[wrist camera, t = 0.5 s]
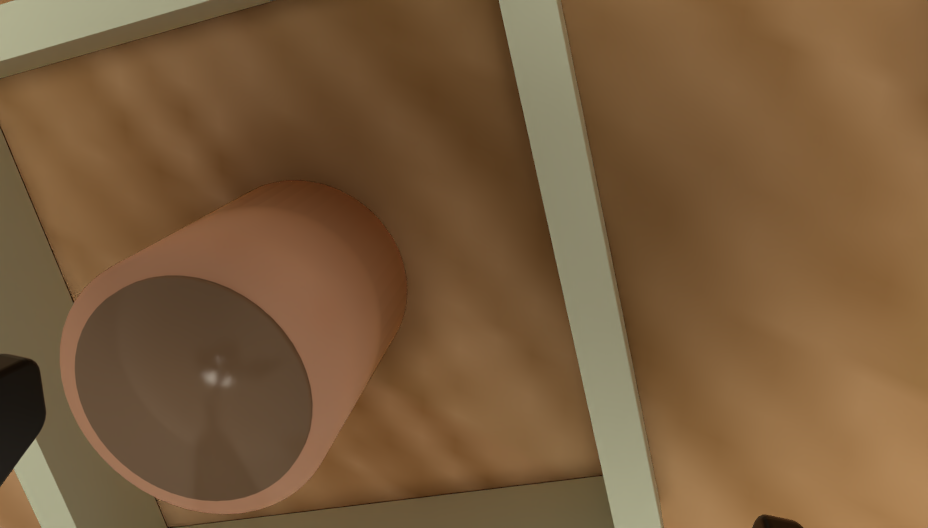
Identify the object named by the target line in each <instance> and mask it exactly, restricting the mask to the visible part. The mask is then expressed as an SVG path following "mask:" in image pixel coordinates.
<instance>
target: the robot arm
mask: <svg viewBox="0 0 928 528" xmlns="http://www.w3.org/2000/svg"><path fill="white" fill-rule="evenodd" d="M45 419H46V406H45V399H44V393H43V386H42V379H41V373H40V368H39V366H38V364H37V363H36V362H35V361H34V360H32V359H30V358H26V357H21V356H16V355H12V354H0V486H1V485H2V484H3V482H4V481H5V479H6V478H7V477H8V475H9V474H10V473H11V471H12V470H13V468H14V467H15V466H16V464H17V463H18V462H19V460H20V459H21V458H22V456H23V455H24V453H25V452H26V451H27V449H28V448H29V447H30V445H31V444H32V442H33V441H34V440H35V438H36V437H37V436H38V434H39V433H40V431H41V429H42V427H43V425H44V422H45ZM752 528H803V527H802V526H801V525H800V524H799V523H797V522H796V521H793V520H789V519H784V518H780V517H775V516H770V515H761V516H759V517H758V518H757V519H756V521H755V522H754V525H753V527H752Z"/></svg>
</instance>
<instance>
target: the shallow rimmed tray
mask: <svg viewBox="0 0 928 528" xmlns="http://www.w3.org/2000/svg"><path fill="white" fill-rule="evenodd" d="M271 1H274V0H14V1H11V2H8V3H4V4H1V5H0V78H4V77H7V76H11V75H14V74H18V73H21V72H25V71H28V70H32V69H35V68H39V67H43V66H46V65H50V64H53V63H57V62H60V61H64V60H67V59H71V58H74V57H78V56H81V55H85V54H88V53H92V52H95V51H99V50H102V49H106V48H109V47H113V46H116V45H120V44H123V43H127V42H130V41H134V40H137V39H141V38H144V37H148V36H151V35H155V34H158V33H162V32H165V31H169V30H172V29H176V28H179V27H183V26H187V25H190V24H194V23H197V22H201V21H204V20H208V19H211V18H215V17H218V16H222V15H225V14H229V13H232V12H236V11H239V10H243V9H246V8H250V7H253V6H257V5H260V4H264V3H267V2H271ZM499 4H500V9H501V13H502V18H503V22H504V27H505V31H506V36H507V40H508V45H509V50H510V54H511V59H512V63H513V68H514V72H515V77H516V81H517V86H518V90H519V95H520V100H521V104H522V109H523V113H524V118H525V122H526V127H527V131H528V136H529V141H530V145H531V150H532V154H533V159H534V163H535V168H536V172H537V177H538V181H539V186H540V191H541V195H542V200H543V204H544V209H545V213H546V218H547V222H548V227H549V232H550V236H551V241H552V245H553V250H554V254H555V259H556V263H557V268H558V272H559V277H560V282H561V286H562V291H563V295H564V300H565V304H566V309H567V313H568V318H569V323H570V327H571V332H572V336H573V341H574V345H575V350H576V354H577V359H578V363H579V368H580V373H581V377H582V382H583V386H584V391H585V395H586V400H587V404H588V409H589V413H590V418H591V423H592V427H593V432H594V436H595V441H596V445H597V450H598V454H599V459H600V464H601V468H602V473H603V476H597V477H589V478H580V479H572V480H564V481H556V482H547V483H539V484H531V485H522V486H514V487H506V488H498V489H489V490H481V491H473V492H465V493H456V494H448V495H440V496H432V497H423V498H415V499H407V500H399V501H390V502H382V503H374V504H365V505H357V506H349V507H341V508H332V509H324V510H316V511H308V512H299V513H291V514H283V515H275V516H266V517H258V518H250V519H241V520H233V521H225V522H217V523H208V524H200V525H192V526H184V527H175V528H664V526H663V519H662V512H661V506H660V500H659V495H658V490H657V485H656V480H655V475H654V470H653V465H652V460H651V454H650V449H649V444H648V439H647V434H646V429H645V424H644V419H643V414H642V409H641V404H640V399H639V394H638V389H637V384H636V378H635V373H634V368H633V363H632V358H631V353H630V348H629V343H628V338H627V333H626V328H625V323H624V318H623V313H622V308H621V303H620V297H619V292H618V287H617V282H616V277H615V272H614V267H613V262H612V257H611V252H610V247H609V242H608V237H607V232H606V227H605V222H604V216H603V211H602V206H601V201H600V196H599V191H598V186H597V181H596V176H595V171H594V166H593V161H592V156H591V151H590V146H589V141H588V135H587V130H586V125H585V120H584V115H583V110H582V105H581V100H580V95H579V90H578V85H577V80H576V75H575V70H574V65H573V60H572V54H571V49H570V44H569V39H568V34H567V29H566V24H565V19H564V14H563V9H562V4H561V0H499ZM73 304H74V303H73V301H72V299H71V296H70V294H69V291H68V289H67V287H66V284H65V282H64V280H63V277H62V275H61V272H60V270H59V268H58V265H57V263H56V260H55V258H54V256H53V253H52V251H51V248H50V246H49V244H48V241H47V239H46V236H45V234H44V232H43V229H42V227H41V224H40V222H39V220H38V217H37V215H36V213H35V210H34V208H33V205H32V203H31V201H30V198H29V196H28V193H27V191H26V189H25V186H24V184H23V181H22V179H21V177H20V174H19V172H18V169H17V167H16V165H15V162H14V160H13V157H12V155H11V153H10V150H9V148H8V146H7V143H6V141H5V138H4V136H3V134H2V131H1V129H0V354H12V355H16V356H21V357H26V358H30V359H32V360H34V361H35V362H36V363H37V364H38V366H39V368H40V373H41V379H42V386H43V393H44V399H45V406H46V419H45V422H44V425H43V427H42V429H41V431H40V433H39V434H38V436H37V437H36V438H35V440H34V441H33V442H32V444H31V445H30V447H29V448H28V449H27V451H26V452H25V453H24V455H23V456H22V458H21V459H20V460H19V462H18V463H17V464H16V466H15V467H14V471H15V473H16V475H17V477H18V479H19V481H20V483H21V485H22V487H23V490H24V492H25V494H26V496H27V498H28V500H29V502H30V504H31V506H32V509H33V511H34V513H35V515H36V517H37V519H38V521H39V523H40V525H41V528H167V526H166V524H165V521H164V519H163V516H162V514H161V512H160V509H159V507H158V504H157V502H156V500H155V497H154V496H152V495H150V494H148V493H146V492H144V491H142V490H141V489H139V488H138V487H136V486H135V485H133V484H132V483H130V482H129V481H127V480H126V479H125V478H124V477H122V476H121V475H120V474H119V473H118V472H116V471H115V470H114V469H113V468H112V467H111V466H110V465H109V464H108V463H107V462H106V461H105V460H104V459H103V458H102V457H101V456H100V455H99V454H98V452H97V451H96V450H95V449H94V448H93V446H92V445H91V444H90V443H89V441H88V440H87V438H86V437H85V435H84V434H83V432H82V430H81V429H80V427H79V426H78V424H77V422H76V420H75V418H74V416H73V414H72V412H71V409H70V406H69V404H68V401H67V398H66V396H65V392H64V388H63V383H62V379H61V371H60V343H61V337H62V331H63V328H64V325H65V322H66V319H67V316H68V313H69V311H70V309H71V308H72V306H73Z"/></svg>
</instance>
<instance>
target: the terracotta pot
mask: <svg viewBox="0 0 928 528" xmlns="http://www.w3.org/2000/svg"><path fill="white" fill-rule="evenodd" d="M406 304H407V277H406V272H405V268H404V263H403V260H402V258H401V255H400V252H399V250H398V248H397V246H396V244H395V242H394V240H393V238H392V236H391V235H390V233H389V232H388V230H387V229H386V227H385V226H384V225H383V224H382V222H381V221H380V220H379V219H378V218H377V217H376V215H374V214H373V213H372V212H371V211H370V210H369V209H368V208H367V207H366V206H365V205H363V204H362V203H360V202H359V201H358V200H356V199H355V198H353V197H351V196H350V195H348V194H346V193H344V192H342V191H340V190H338V189H335V188H333V187H330V186H328V185H324V184H320V183H316V182H310V181H302V180H286V181H280V182H273V183H270V184H267V185H263V186H260V187H258V188H256V189H254V190H252V191H250V192H248V193H246V194H244V195H242V196H240V197H239V198H237V199H235V200H233V201H231V202H229V203H228V204H226V205H224V206H222V207H220V208H218V209H217V210H215V211H213V212H211V213H209V214H207V215H205V216H204V217H202V218H200V219H198V220H196V221H194V222H193V223H191V224H189V225H187V226H185V227H183V228H182V229H180V230H178V231H176V232H174V233H172V234H171V235H169V236H167V237H165V238H163V239H161V240H159V241H158V242H156V243H154V244H152V245H150V246H148V247H147V248H145V249H143V250H141V251H139V252H137V253H136V254H134V255H132V256H130V257H128V258H126V259H124V260H123V261H121V262H119V263H117V264H115V265H113V266H112V267H110V268H108V269H107V270H105V271H104V272H102V273H101V274H100V275H98V276H97V277H96V278H94V279H93V280H92V281H91V282H90V283H89V284H88V285H87V286H86V287H85V288H84V289H83V291H82V292H81V293H80V295H79V296H78V297H77V299H76V300H75V302H74V304H73V306H72V308H71V309H70V311H69V313H68V316H67V319H66V322H65V325H64V328H63V331H62V337H61V343H60V371H61V379H62V383H63V388H64V392H65V396H66V398H67V401H68V404H69V406H70V409H71V412H72V414H73V416H74V418H75V420H76V422H77V424H78V426H79V427H80V429H81V430H82V432H83V434H84V435H85V437H86V438H87V440H88V441H89V443H90V444H91V445H92V446H93V448H94V449H95V450H96V451H97V452H98V454H99V455H100V456H101V457H102V458H103V459H104V460H105V461H106V462H107V463H108V464H109V465H110V466H111V467H112V468H113V469H114V470H115V471H116V472H118V473H119V474H120V475H121V476H122V477H124V478H125V479H126V480H127V481H129V482H130V483H132V484H133V485H135V486H136V487H138V488H139V489H141V490H142V491H144V492H146V493H148V494H150V495H152V496H154V497H156V498H158V499H160V500H162V501H165V502H167V503H170V504H172V505H175V506H178V507H182V508H185V509H189V510H193V511H198V512H204V513H213V514H237V513H245V512H251V511H256V510H259V509H262V508H265V507H268V506H271V505H274V504H276V503H278V502H280V501H282V500H284V499H286V498H287V497H289V496H290V495H292V494H293V493H294V492H296V491H297V490H299V489H300V488H301V487H302V486H303V485H304V484H305V483H306V482H307V481H308V480H309V479H310V478H311V477H312V475H313V474H314V473H315V471H316V470H317V469H318V467H319V466H320V464H321V462H322V461H323V459H324V457H325V456H326V454H327V452H328V450H329V449H330V447H331V445H332V444H333V442H334V440H335V438H336V437H337V435H338V433H339V432H340V430H341V428H342V426H343V425H344V423H345V421H346V419H347V418H348V416H349V414H350V413H351V411H352V409H353V407H354V406H355V404H356V402H357V401H358V399H359V397H360V395H361V394H362V392H363V390H364V389H365V387H366V385H367V383H368V382H369V380H370V378H371V376H372V375H373V373H374V371H375V370H376V368H377V366H378V364H379V363H380V361H381V359H382V358H383V356H384V354H385V352H386V351H387V349H388V347H389V346H390V344H391V342H392V340H393V339H394V337H395V335H396V333H397V331H398V329H399V328H400V325H401V322H402V320H403V317H404V313H405V308H406Z"/></svg>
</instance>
